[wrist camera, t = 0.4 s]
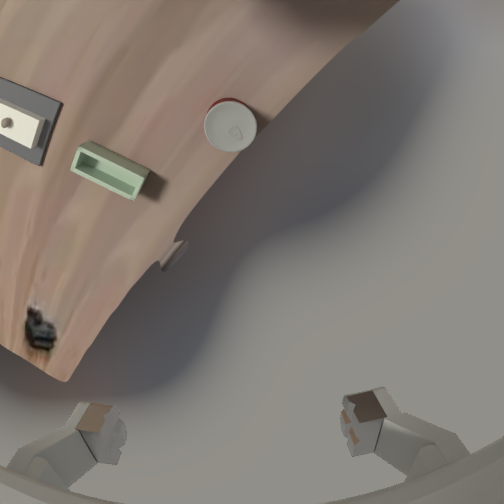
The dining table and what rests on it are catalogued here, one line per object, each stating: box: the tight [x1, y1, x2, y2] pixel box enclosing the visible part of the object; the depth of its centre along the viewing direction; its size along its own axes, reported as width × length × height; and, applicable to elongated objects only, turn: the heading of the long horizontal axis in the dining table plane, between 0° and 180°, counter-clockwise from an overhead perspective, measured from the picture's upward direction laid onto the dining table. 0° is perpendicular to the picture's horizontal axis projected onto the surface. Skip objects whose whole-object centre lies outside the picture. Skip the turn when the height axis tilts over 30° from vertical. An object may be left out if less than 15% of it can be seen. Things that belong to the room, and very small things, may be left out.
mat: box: [0, 77, 61, 166], centre depth 44 cm, size 14×20×1 cm
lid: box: [0, 98, 46, 149], centre depth 42 cm, size 6×16×4 cm, turn 58°
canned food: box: [204, 98, 257, 152], centre depth 47 cm, size 8×8×11 cm
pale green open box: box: [70, 140, 150, 201], centre depth 51 cm, size 5×14×5 cm, turn 58°
